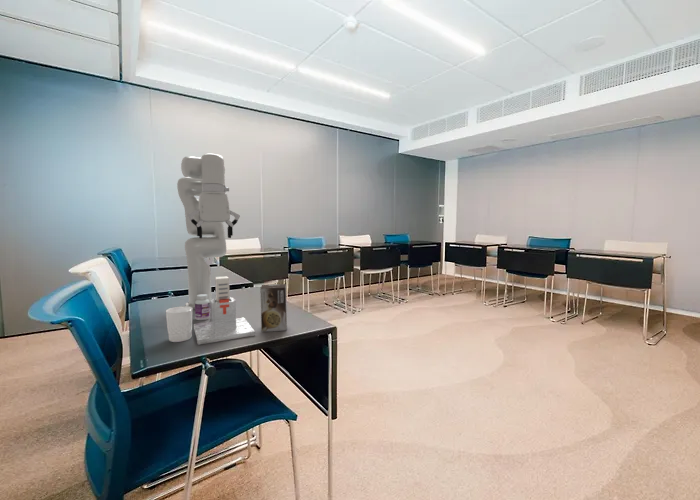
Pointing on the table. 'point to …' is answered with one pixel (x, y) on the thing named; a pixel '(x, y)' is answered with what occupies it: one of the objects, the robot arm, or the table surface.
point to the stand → (222, 323)
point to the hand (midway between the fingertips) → (215, 238)
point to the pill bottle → (202, 307)
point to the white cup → (179, 323)
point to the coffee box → (273, 307)
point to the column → (222, 288)
